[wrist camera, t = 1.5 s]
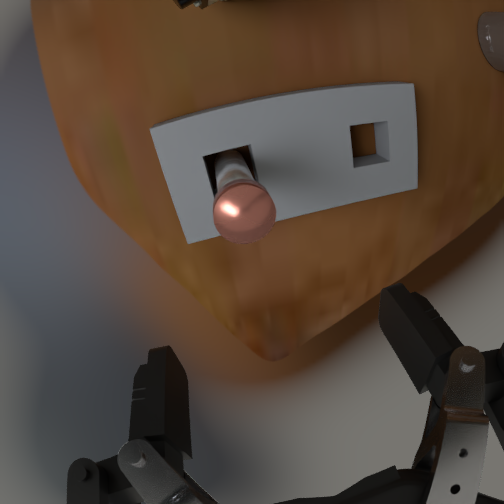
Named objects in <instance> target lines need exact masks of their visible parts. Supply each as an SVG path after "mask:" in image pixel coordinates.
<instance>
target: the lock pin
mask: <svg viewBox="0 0 504 504" xmlns="http://www.w3.org/2000/svg"><path fill="white" fill-rule="evenodd" d="M215 173H216V181H217V189H218V192H217V194H216V195H215V198H214V201H213V220H214V225H215V227H216V229H217V231H218V232H219V234H220V235H221V236H222V237H224V238H225V239H227V240H228V241H231V242H234V243H238V244H248V243H252V242H256V241H258V240H260V239H262V238H263V237H264V236H266V235H267V234H268V233H269V232H270V230H271V229H272V227H273V225H274V223H275V220H276V207H275V204H274V202H273V200H272V198H271V196H270V194H269V193H268V191H267V190H266V188H265V187H264V186H263V185H261V184H260V183H258V182H256V181H254V179H253V176H252V174H251V172H250V170H249V168H248V166H247V164H246V162H245V160H244V158H243V156H242V155H241V154H240V153H239V152H237V151H235V150H225V151H222V152H221V153H220V154H219V155H218V156H217V157H216V159H215Z"/></svg>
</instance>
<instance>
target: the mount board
mask: <svg viewBox="0 0 504 504" xmlns="http://www.w3.org/2000/svg"><path fill="white" fill-rule="evenodd" d="M366 123H374V129H375V142H376V154H373V155H367V156H361V157H356V158H353V155H352V145H351V135H350V126H351V125H358V124H366ZM150 132H151V135H152V138H153V142H154V145H155V148H156V151H157V154H158V158H159V161H160V164H161V167H162V170H163V173H164V176H165V179H166V182H167V185H168V188H169V191H170V194H171V197H172V200H173V203H174V206H175V209H176V212H177V215H178V217H179V220H180V223H181V226H182V229H183V231H184V234H185V237H186V240H187V243H188V244H190V243H194V242H197V241H201V240H205V239H209V238H213V237H216V236H220V234H219V232H218V231H217V229H216V227H215V225H214V220H213V201H214V198H215V195H216V194H217V192H218V189H217V188H216V189H213V185H212V181H211V178H210V174H209V171H208V167H207V163H206V160H205V156H206V155H209V154H213V153H217V152H221V151H225V150H229V149H233V148H237V147H241V146H245V145H248V147H249V152H250V156H251V161H252V165H253V170H254V175H255V179H254V181H256V182H258V183H260V184H261V185H263V186H264V187H265V188H266V190H267V191H268V193H269V194H270V196H271V198H272V200H273V202H274V204H275V207H276V220H275V221H279V220H283V219H287V218H291V217H295V216H300V215H304V214H308V213H312V212H316V211H320V210H324V209H329V208H333V207H337V206H341V205H345V204H350V203H354V202H358V201H363V200H367V199H371V198H376V197H380V196H385V195H389V194H393V193H398V192H402V191H407V190H412V189H416V188H417V180H418V145H417V119H416V104H415V92H414V84H413V83H405V82H375V83H360V84H348V85H337V86H328V87H320V88H312V89H305V90H298V91H292V92H285V93H280V94H274V95H268V96H263V97H258V98H253V99H248V100H244V101H239V102H234V103H230V104H226V105H222V106H218V107H214V108H210V109H206V110H202V111H198V112H195V113H191V114H187V115H184V116H181V117H177V118H174V119H171V120H167V121H164V122H161V123H158V124H155V125H154V126H153V127H152V128H150Z"/></svg>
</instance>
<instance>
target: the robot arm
mask: <svg viewBox="0 0 504 504" xmlns="http://www.w3.org/2000/svg"><path fill="white" fill-rule="evenodd" d="M478 37H479V42H480V45H481V48H482V51H483V53H484V55H485V57H486V59H487V60H488V62H489V63H490V64H491V66H493V67H494V68H495V69H497V70H499V71H504V12H485V13H483V14H482V15H481V17H480V19H479V22H478ZM378 319H379V324H380V328H381V330H382V332H383V333H384V335H385V336H386V338H387V340H388V341H389V343H390V345H391V346H392V348H393V350H394V351H395V353H396V355H397V356H398V358H399V360H400V361H401V363H402V365H403V367H404V368H405V370H406V372H407V373H408V375H409V377H410V379H411V380H412V382H413V384H414V386H415V387H416V389H417V391H418V393H419V394H422V393H424V392H426V391H428V390H429V392H430V393H431V395H432V396H431V398H430V403H429V409H428V414H427V418H426V423H425V428H424V432H423V436H422V440H421V443H420V446H419V448H418V450H417V452H416V455H415V458H414V461H413V464H412V467H411V469H399V470H397V469H396V466H395V465H394V466H392V467H390V468H387V469H385V470H383V471H380V472H378V473H375V474H373V475H370V476H367V477H365V478H363V479H362V480H360V481H359V482H357V483H356V484H354V485H353V486H351V487H349V488H348V489H346V490H344V491H343V492H341V493H339V494H337V495H335V496H330V497H316V498H297V499H293V500H289V501H284V502H279V503H275V504H504V501H502V500H499V499H496V498H493V497H490V496H487V495H485V494H482V493H479V492H478V489H479V484H480V480H481V475H482V470H483V464H484V459H485V452H486V445H487V438H488V428H489V421H490V423H491V425H492V427H493V429H494V431H495V433H496V435H497V437H498V439H499V441H500V444H501V446H502V448H503V450H504V343H503V344H502V346H501V348H500V349H495V350H490V351H485V352H480V351H479V350H478V349H476V348H474V347H471V346H464V345H463V344H462V343H461V342H460V340H459V339H458V338H457V336H456V335H455V334H454V332H453V331H452V330H451V328H450V327H449V326H448V325H447V323H446V322H445V321H444V320H443V318H442V317H440V315H439V313H438V312H437V311H436V310H434V307H433V306H432V305H431V303H430V302H429V301H428V300H427V299H426V298H425V297H423V296H422V295H420V294H418V293H417V292H412V293H410V292H409V291H408V290H407V289H406V288H405V286H404V285H403V284H402V283H397V284H394V285H392V286H389V287H386V288H383V289H382V290H381V297H380V307H379V316H378ZM132 400H133V401H132V405H131V416H130V430H129V439H128V442H127V443H125V444H124V445H123V446H122V447H121V449H120V451H119V453H118V454H117V455H115V456H113V457H111V458H108V459H105V460H102V461H100V462H96V463H95V462H94V461H92V460H90V459H88V458H80V459H77V460H75V461H74V462H73V463H72V464H71V466H70V468H69V470H68V479H67V504H141V502H143V501H145V502H146V503H147V504H220V503H218V502H217V501H216V500H215V499H214V498H213V497H211V496H210V495H209V494H208V493H207V492H206V491H205V490H204V489H203V488H202V487H201V486H199V484H198V483H197V482H195V480H194V479H192V478H191V477H190V476H189V475H188V474H187V473H186V471H185V470H184V467H183V460H187V459H192V446H191V432H190V415H189V414H190V413H189V390H188V379H187V375H186V372H185V370H184V368H183V366H182V364H181V363H180V361H179V360H178V358H177V356H176V354H175V353H174V352H173V350H172V348H171V347H170V346H163V347H158V348H153V349H150V350H149V353H148V363H147V364H144V365H140V367H139V369H138V371H137V373H136V374H135V377H134V383H133V393H132ZM483 409H484V411H485V413H486V415H485V414H484V411H483Z"/></svg>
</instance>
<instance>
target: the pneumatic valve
mask: <svg viewBox="0 0 504 504" xmlns="http://www.w3.org/2000/svg"><path fill="white" fill-rule="evenodd" d="M173 1H174V2H175V4H176V5H177V6H178V7H179V8H180V9H184V8H186V7H187V6H189V5H191V4H194V5H195V7H198V6H199V7H200V8H201V9H203V8H205V7H207V6H209V5H211V4H213V3H215V2H217V1H223V0H173ZM224 1H227V0H224Z"/></svg>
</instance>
